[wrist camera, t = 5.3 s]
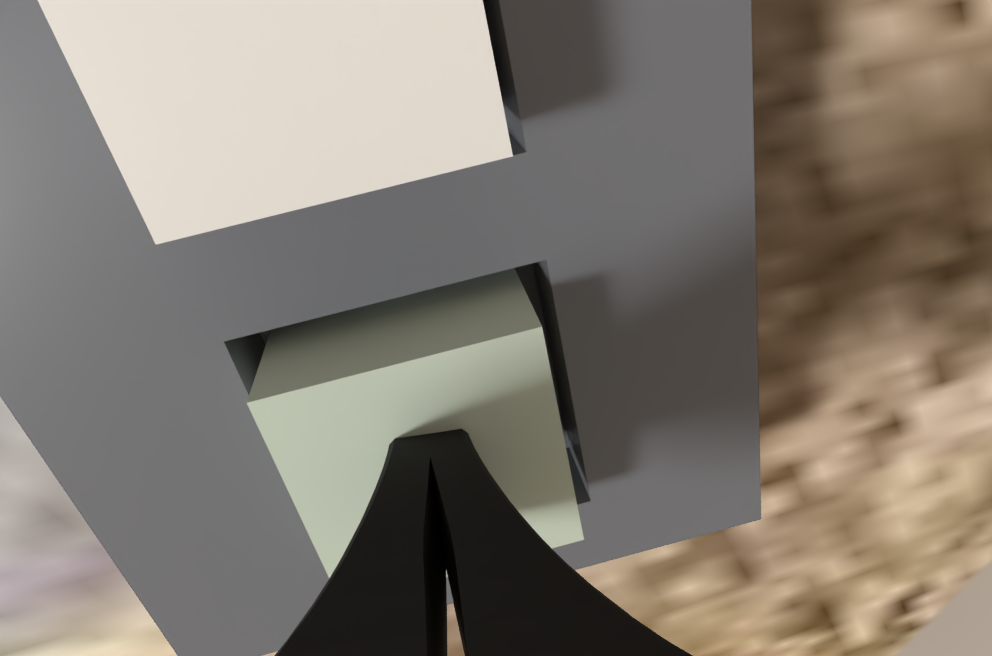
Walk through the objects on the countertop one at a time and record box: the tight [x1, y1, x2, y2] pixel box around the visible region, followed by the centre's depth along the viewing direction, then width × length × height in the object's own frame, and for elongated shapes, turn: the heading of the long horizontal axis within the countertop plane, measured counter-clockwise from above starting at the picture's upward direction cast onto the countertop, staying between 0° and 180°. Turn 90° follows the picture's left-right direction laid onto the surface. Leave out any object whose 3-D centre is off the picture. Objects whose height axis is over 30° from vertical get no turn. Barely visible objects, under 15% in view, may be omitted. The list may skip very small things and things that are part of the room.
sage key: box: [247, 268, 584, 578], centre depth 13 cm, size 5×5×3 cm
